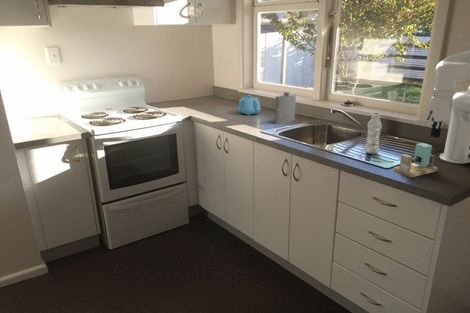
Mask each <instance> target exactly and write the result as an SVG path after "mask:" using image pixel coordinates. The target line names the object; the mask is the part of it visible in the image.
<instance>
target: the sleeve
mask: <svg viewBox="0 0 470 313" xmlns="http://www.w3.org/2000/svg"><path fill="white" fill-rule="evenodd" d="M432 149H433V145H431V144H428V143H425V142H421V143H416V144H415V150H414V157H413V158H414V159H415V158H420V157H421V158H422V159H421V161H419V162H415V163H414V164H417V165H420V166H426V165H429V161H430V155H432Z"/></svg>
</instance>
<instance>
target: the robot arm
mask: <svg viewBox="0 0 470 313" xmlns="http://www.w3.org/2000/svg"><path fill="white" fill-rule="evenodd" d="M434 69H435V70H434V74H435V78H434V79H435V80H434V86H433V91H432V96H431V97H430V100H429V102H428V105H427V109H426V114H425V120H426V121H428V122H427V124H428V125H430V127H431V131H430V137H431V138H440V137H441V132H442V129H443V127H444V124H447V123H448V120H449V123H448V130H447V135H446V139H445V146H444V150H443V152H442V153H440V154H439V158H440V160H442V161H444V162H448V163H453V164H462V165H463V164H464V165H465V164H469V163H470V157H469V155H470V85H469V86H468V88H467V90H466V91H465V90H464V91H463V90H461V91H458V92H456V93H455V88H456V84H457V82H466V81H470V50H467V51H463V52H460V53H456V54H455V53H454V54H452V55H450V56H447V57H446V58H444V59H442V60H441V61H440V62H439V63H438V64H437V65H436V66H435V68H434ZM454 93H455V94H454Z"/></svg>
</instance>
